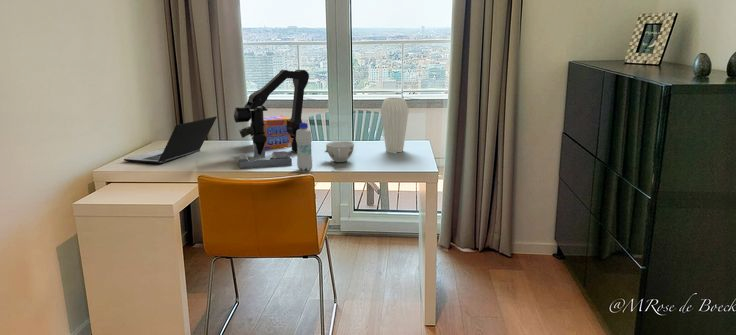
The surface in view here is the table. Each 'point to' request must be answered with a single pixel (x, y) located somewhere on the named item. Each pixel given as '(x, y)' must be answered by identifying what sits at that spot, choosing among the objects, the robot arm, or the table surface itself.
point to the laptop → (179, 142)
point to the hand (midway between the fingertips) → (259, 153)
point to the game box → (276, 132)
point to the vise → (262, 162)
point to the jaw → (280, 155)
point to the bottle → (304, 147)
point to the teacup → (340, 150)
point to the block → (257, 152)
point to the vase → (394, 123)
